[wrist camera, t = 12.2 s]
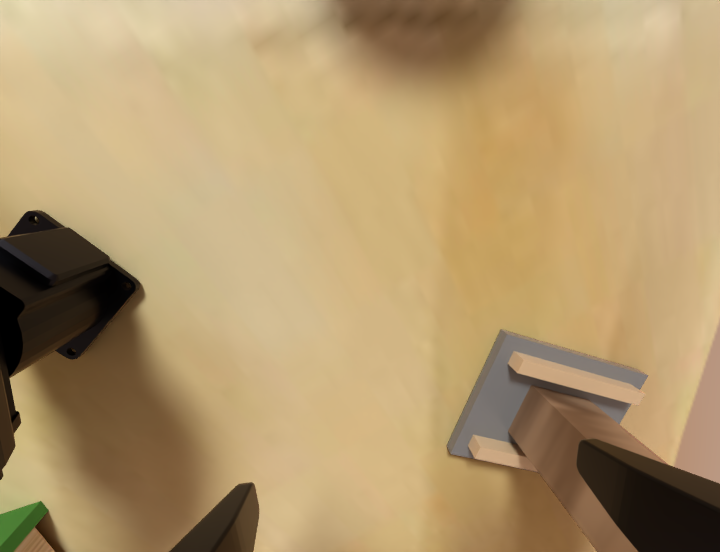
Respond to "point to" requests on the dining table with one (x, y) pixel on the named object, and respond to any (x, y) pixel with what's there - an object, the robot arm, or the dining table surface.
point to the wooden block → (572, 456)
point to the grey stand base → (512, 381)
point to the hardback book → (23, 530)
